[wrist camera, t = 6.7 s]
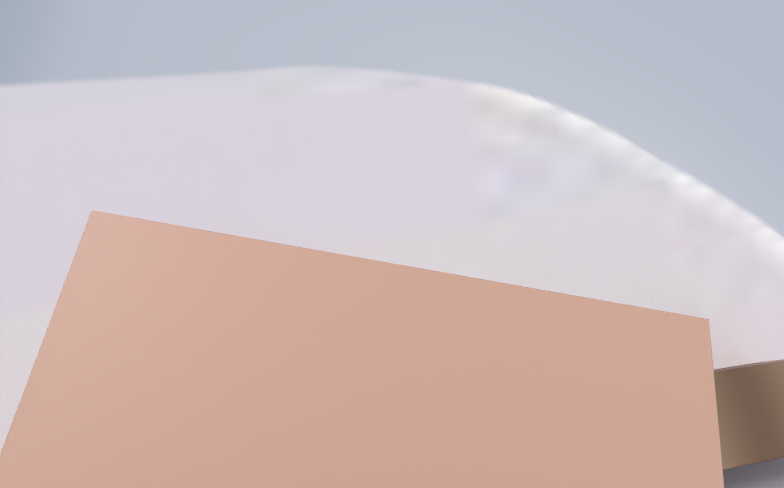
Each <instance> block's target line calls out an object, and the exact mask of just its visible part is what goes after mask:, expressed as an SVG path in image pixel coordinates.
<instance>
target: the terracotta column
mask: <svg viewBox="0 0 784 488" xmlns="http://www.w3.org/2000/svg"><path fill="white" fill-rule="evenodd" d="M0 488H724V479H723V469H722V458H721V447H720V436H719V425H718V414H717V403H716V393H715V382H714V371H713V360H712V349H711V338H710V327H709V319H704V318H698V317H693V316H687V315H681V314H676V313H670V312H664V311H659V310H653V309H647V308H642V307H636V306H630V305H625V304H619V303H613V302H608V301H602V300H596V299H591V298H585V297H579V296H574V295H568V294H562V293H557V292H551V291H545V290H540V289H534V288H528V287H523V286H517V285H511V284H506V283H500V282H494V281H489V280H483V279H477V278H472V277H466V276H460V275H455V274H449V273H443V272H438V271H432V270H426V269H421V268H415V267H409V266H404V265H398V264H392V263H387V262H381V261H375V260H370V259H364V258H358V257H353V256H347V255H341V254H336V253H330V252H324V251H319V250H313V249H307V248H302V247H296V246H290V245H285V244H279V243H273V242H268V241H262V240H256V239H251V238H245V237H240V236H234V235H228V234H223V233H217V232H211V231H206V230H200V229H194V228H189V227H183V226H177V225H172V224H166V223H160V222H155V221H149V220H143V219H138V218H132V217H126V216H121V215H115V214H109V213H104V212H98V211H91V214H90V216H89V219H88V222H87V224H86V227H85V230H84V232H83V235H82V238H81V240H80V243H79V246H78V248H77V251H76V254H75V256H74V259H73V262H72V264H71V267H70V270H69V272H68V275H67V278H66V280H65V283H64V286H63V288H62V291H61V294H60V296H59V299H58V302H57V304H56V307H55V310H54V312H53V315H52V318H51V320H50V323H49V326H48V328H47V331H46V334H45V336H44V339H43V342H42V344H41V347H40V350H39V352H38V355H37V358H36V360H35V363H34V366H33V369H32V371H31V374H30V377H29V379H28V382H27V385H26V387H25V390H24V393H23V395H22V398H21V401H20V403H19V406H18V409H17V411H16V414H15V417H14V419H13V422H12V425H11V427H10V430H9V433H8V435H7V438H6V441H5V443H4V446H3V449H2V451H1V454H0Z"/></svg>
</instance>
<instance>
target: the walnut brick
mask: <svg viewBox="0 0 784 488" xmlns="http://www.w3.org/2000/svg"><path fill="white" fill-rule="evenodd" d="M713 371H714V382H715V393H716V403H717V414H718V425H719V436H720V447H721V458H722V469H723V470H724V469H729V468H733V467H738V466H743V465H748V464H753V463H758V462H762V461H767V460H772V459H777V458H782V457H784V360H776V361H768V362H760V363H752V364H746V365H740V366H734V367H727V368H721V369H715V370H713Z"/></svg>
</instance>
